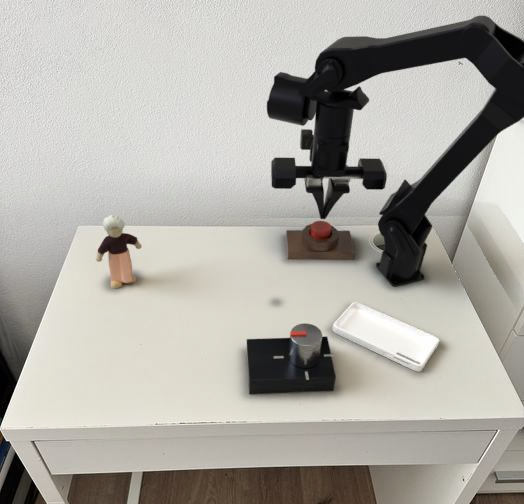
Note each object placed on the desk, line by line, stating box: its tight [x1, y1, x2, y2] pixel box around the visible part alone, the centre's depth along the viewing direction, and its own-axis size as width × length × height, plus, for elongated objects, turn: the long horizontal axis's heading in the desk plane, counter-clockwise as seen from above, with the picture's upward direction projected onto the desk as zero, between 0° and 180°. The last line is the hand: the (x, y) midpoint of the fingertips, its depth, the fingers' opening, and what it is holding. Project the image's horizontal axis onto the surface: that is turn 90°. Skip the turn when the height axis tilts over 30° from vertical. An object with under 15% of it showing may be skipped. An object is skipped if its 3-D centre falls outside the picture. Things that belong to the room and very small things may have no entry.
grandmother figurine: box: [95, 214, 143, 289], centre depth 88 cm, size 8×4×13 cm, turn 131°
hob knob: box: [288, 322, 323, 368], centre depth 75 cm, size 4×4×5 cm
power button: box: [311, 220, 331, 239], centre depth 97 cm, size 4×4×2 cm
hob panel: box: [246, 336, 337, 395], centre depth 77 cm, size 12×9×3 cm
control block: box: [285, 223, 355, 261], centre depth 98 cm, size 12×7×4 cm, turn 91°
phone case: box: [332, 301, 440, 372], centre depth 83 cm, size 7×1×15 cm
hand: (322, 217), depth 95 cm, fingers closed
